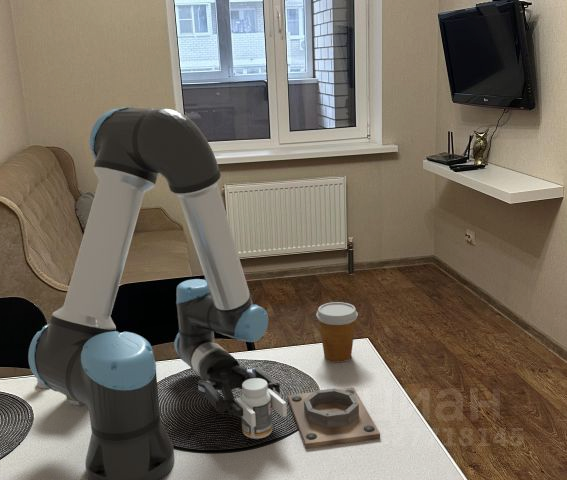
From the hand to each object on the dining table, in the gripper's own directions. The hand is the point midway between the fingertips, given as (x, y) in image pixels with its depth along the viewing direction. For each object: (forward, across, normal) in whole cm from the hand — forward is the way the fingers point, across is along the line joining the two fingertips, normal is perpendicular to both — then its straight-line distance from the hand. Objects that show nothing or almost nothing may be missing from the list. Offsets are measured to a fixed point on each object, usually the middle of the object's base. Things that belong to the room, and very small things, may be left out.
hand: (269, 414), depth 116 cm
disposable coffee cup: (-25, -32, -7) cm, 41 cm away
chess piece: (-50, +30, -7) cm, 58 cm away
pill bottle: (-5, 0, -6) cm, 8 cm away
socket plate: (-3, -15, -7) cm, 17 cm away
